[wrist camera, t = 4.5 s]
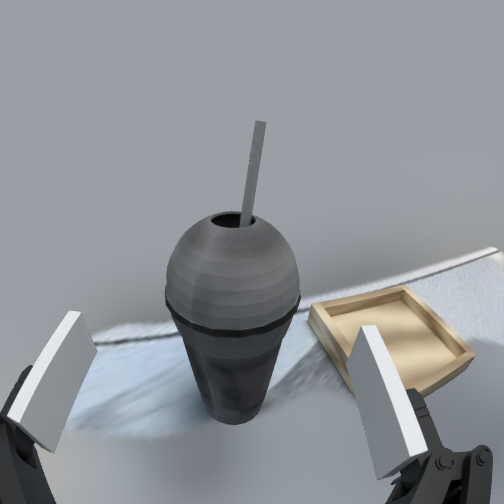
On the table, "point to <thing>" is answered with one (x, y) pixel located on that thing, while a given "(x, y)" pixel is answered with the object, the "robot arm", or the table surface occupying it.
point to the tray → (393, 336)
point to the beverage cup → (233, 301)
